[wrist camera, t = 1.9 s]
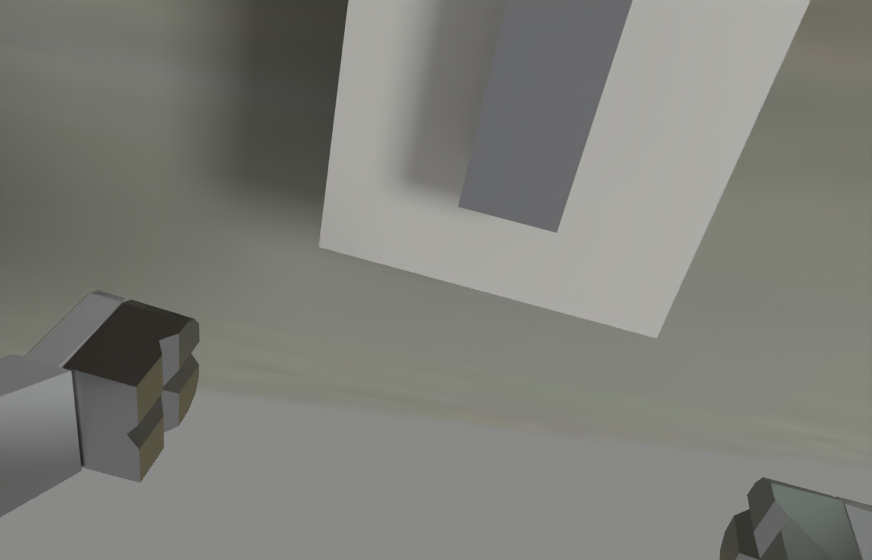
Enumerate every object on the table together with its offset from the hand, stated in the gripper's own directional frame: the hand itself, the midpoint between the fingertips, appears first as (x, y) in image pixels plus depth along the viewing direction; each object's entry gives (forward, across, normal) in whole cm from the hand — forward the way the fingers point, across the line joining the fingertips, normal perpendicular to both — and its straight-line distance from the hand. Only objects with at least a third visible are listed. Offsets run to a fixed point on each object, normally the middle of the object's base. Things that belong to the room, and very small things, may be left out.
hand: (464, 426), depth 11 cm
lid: (+18, 0, 0) cm, 18 cm away
